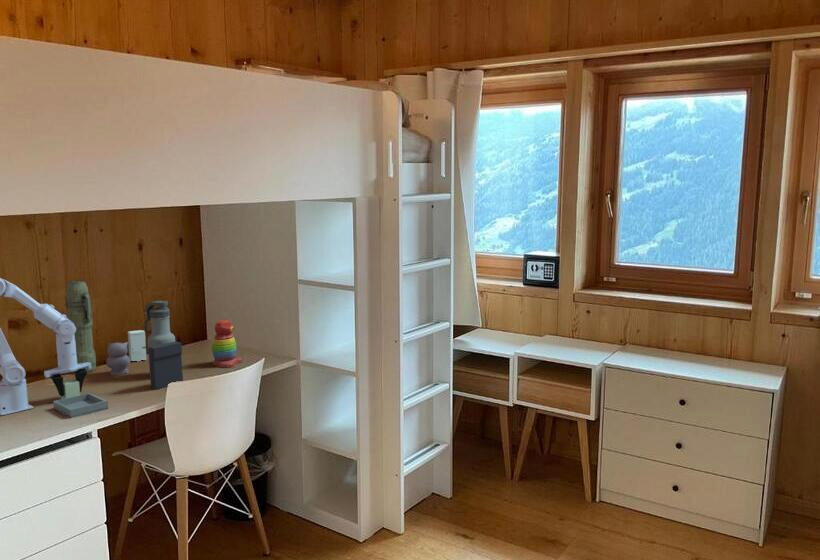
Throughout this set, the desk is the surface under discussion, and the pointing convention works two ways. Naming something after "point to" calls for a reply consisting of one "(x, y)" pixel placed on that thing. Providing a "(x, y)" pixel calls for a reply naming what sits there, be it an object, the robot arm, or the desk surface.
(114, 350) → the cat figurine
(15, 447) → the desk surface
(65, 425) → the desk surface
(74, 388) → the block
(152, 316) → the water bottle
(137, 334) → the skincare box
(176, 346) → the dark gray box
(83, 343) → the thermos
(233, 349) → the stacking bear
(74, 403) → the bin
